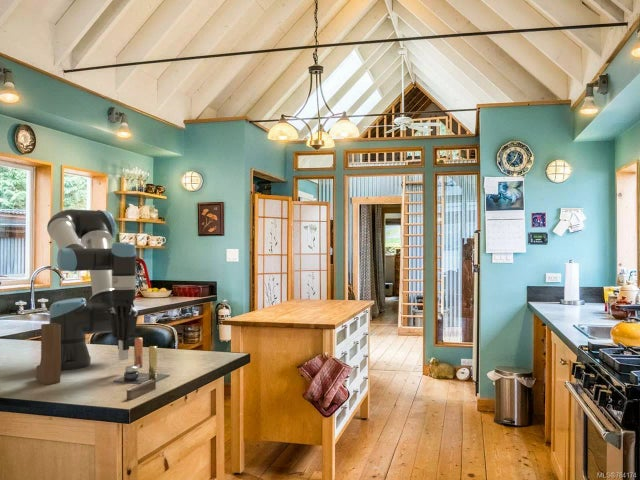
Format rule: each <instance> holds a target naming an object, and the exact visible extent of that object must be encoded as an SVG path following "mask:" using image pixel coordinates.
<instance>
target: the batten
mask: <svg viewBox="0 0 640 480" xmlns="http://www.w3.org/2000/svg"><path fill="white" fill-rule="evenodd" d="M156 387H157V382H156V381H154V380H149V381H146V382H144V383H142V384H138V385H134V386H132V387H129V388H128V389H126V400H129V401H130V400H131V401H132V400H134V399H136V398H139V397H140V396H141V397H142V396H144V395H145V394H147V393H150V392H152V391H154V390H156V389H157V388H156Z"/></svg>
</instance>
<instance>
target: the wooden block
mask: <svg viewBox="0 0 640 480" xmlns="http://www.w3.org/2000/svg"><path fill="white" fill-rule="evenodd" d="M40 326H41V330H40V331H41V333H40V334H41V335H40V336H41V338H40V344H41V345H40V362H39V365H37V366H36V370H35V371H36V373H35V375H36V376H35V378H36V379H35V380H36V381H38V382H40V383H41V384H43V385H53V384H58V383H61V371H62V370H61V325H60V324H57V323H51V324H50V323H43V324H41V325H40Z"/></svg>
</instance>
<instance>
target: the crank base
mask: <svg viewBox="0 0 640 480" xmlns="http://www.w3.org/2000/svg"><path fill="white" fill-rule="evenodd" d="M170 376H171V374H165V373H164V374H163V373H158V345H153V346H152V345H150V346H148V373H147V372H140V371H138V372H136V373H126V371H125V372H124V373H123V376H121V377H119V378H116V379H113V381H112V382H113V383H122V384H123V383H125V384H138V385H139V384H142V383H144V382H146V381H149V380H154V381H156V383H157V382H159V381H161V380H163V379H166V378H169V377H170Z"/></svg>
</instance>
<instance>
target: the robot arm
mask: <svg viewBox="0 0 640 480" xmlns="http://www.w3.org/2000/svg"><path fill="white" fill-rule="evenodd" d="M46 228H47V231H46V232H47V233H48V235H49V237H50V238H51V240H53V241H55V243H56V246H57V248H58V251H57V255H56V256H57V259H56V261H57V269H58V270H59V271H62V272H63V271H64V272H79V271H80V272H81V271H82V272H84V271H89V277H90V278H89V279H90V284H91V291H92V295H91V296H90V297H89V299H88V301H87V299H86V298H85V297H75V298H67V299H62V300H58V301H55V302H53V303H52V304H50V306H49V313H48V318H49V324H51V323H57V324H60V325H61V371H69V370H77V369H81V368H85V367H89V366H90V365H91V364H92V358H91V356H90V352H89V349H88V346H87V341H86V339H87V337H86V336H87V335H94V334H106V333H107V334H108V333H112V337H113V338H114V339H116V340H117V350H118V361H126V360H129V350H130V340H132V339H134V338H135V334H136V329H137V322H138V317H139V316H140V312H141V310H139V309H136V308H135V304H134V303H135V302H134V301H135V300H136V297H137V295H136V291H137V290H136V289H135V288H136V286H137V285H136V283H137V281H136V279H137V276H136V274H137V273H136V271H137V269H136V268H137V265H136V264H137V261H136V260H137V256H136V255H137V250H136V249H137V247H136V243H134V242H129V241H128V242H126V241H125V242H122V241H121V242H112V240H113V239H114V237H115V236H116V222H115V219H114V216H113V215H112V213H111V212H110V211H108V210H101V209H97V210H94V209H93V210H91V209H90V210H89V209H64V210H61V211H59V212H57V213H56V214H54V215H53V216H51V218H50V219H49V221H48V223H47V225H46ZM111 242H112V245H111V247H110V243H111Z"/></svg>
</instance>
